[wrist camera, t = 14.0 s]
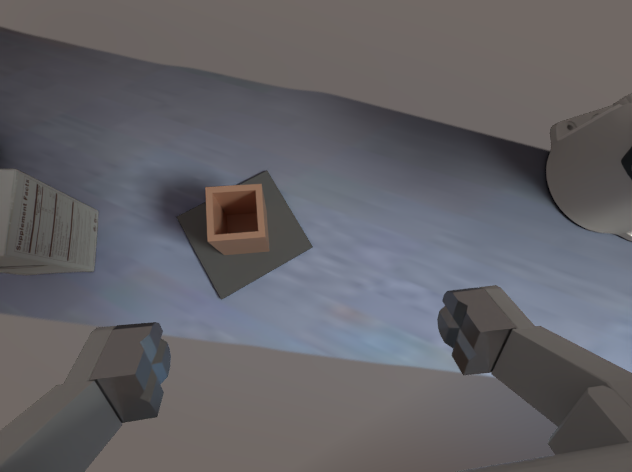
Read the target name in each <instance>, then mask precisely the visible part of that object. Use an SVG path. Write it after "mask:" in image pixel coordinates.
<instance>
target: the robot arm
mask: <svg viewBox="0 0 632 472" xmlns="http://www.w3.org/2000/svg"><path fill="white" fill-rule="evenodd" d="M550 137H551V151H550V154H549V157H548V160H547V166H546V177H547V183H548V186H549V190H550V192H551V195H552V197H553V199H554V200H555V202H556V204H557V205H558V206H559V208H560V209H561V210H562V211H563V213H564V214H565V215H566V216H568V217H569V218H570V219H571V220H572V221H574V222H575V223H577V224H578V225H580V226H582V227H584V228H586V229H588V230H591V231H595V232H600V233H611V234H617V235H619V236H621V237H623V238H625V239H627V240H629V241H632V93H631V94H629V95H627V96H625V97H624V98H622V99H620V100H619V101H618V102H616V103H614V104H613V105H612V106H608V107H605V108H602V109H599V110H596V111H593V112H589V113H586V114H583V115H580V116H577V117H574V118H571V119H567V120H564V121H561V122H559V123H557V124H555V125H553V126H552V127H551V129H550ZM442 301H443V303H444V304H445V307H444V308H442V309H441V310H440V311H439V315H438V319H437V320H438V329H439V332H440V335H441V337H442V339H443V341H444V342H445V343H446V344H447V345H449V346H450V347H452V348H453V352H452V357H453V358H454V360H455V362H456V364H457V365H458V367H459V369H460V371H461V372H462V374H463V375H471V374H481V373H490V372H492V375H493V376H495V377H496V378H497V379H498V380H500V381H501V382H502V383H504V384H505V385H506V386H507V387H509V388H510V389H511V390H512V391H514V392H515V393H516V394H517V395H519V396H520V397H521V398H522V399H524V400H525V401H526V402H527V403H529V404H530V405H531V406H532V407H534V408H535V409H536V410H537V411H539V412H540V413H541V414H542V415H544V416H545V417H546V418H548V419H549V420H550V421H551V422H553V423H554V424H555V425H556V426H558V428H557V429H556V430H555V432H554V433H553V434H552V436H551V437H550V439H549V442H548V445H549V446H550V448H551V449H552V451H553V452H554V454H555V455H551V456H545V457H539V458H533V459H527V460H521V461H516V462H510V463H504V464H498V465H492V466H487V467H480V468H475V469H468V470H463V471H457V472H632V373H631V372H629V371H627V370H625V369H623V368H621V367H619V366H617V365H615V364H613V363H611V362H609V361H607V360H605V359H603V358H601V357H599V356H598V355H596V354H594V353H592V352H590V351H588V350H586V349H584V348H582V347H580V346H578V345H576V344H574V343H572V342H570V341H568V340H566V339H565V338H563V337H561V336H559V335H557V334H555V333H553V332H551V331H549V330H547V329H545V328H543V327H541V326H534V325H533V323H532V322H531V321H530V320H529V319H528V318H527V317H526V316H525V314H524V313H523V312H522V311H521V310H520V309H519V308H518V307H517V305H516V304H515V303H514V302H513V301H512V300H511V299H510V298H509V297H508V295H507V294H506V293H505V292H504V291H503V290H502V289H501V288H500V287H498V286H496V285H495V286H486V287H479V288H469V289H460V290H452V291H447V292H446V293H445V294H444V297H443V300H442ZM162 333H163V330H162V328H161V326H160V324H159V323H157V322H153V323H141V324H129V325H117V326H109V327H98V328H96V329H95V330H94V331H92V332H91V334H90V336H89V338H88V340H87V342H86V343H85V345H84V347H83V349H82V351H81V353H80V354H79V356H78V358H77V360H76V362H75V364H74V366H73V368H72V369H71V371H70V373H69V375H68V377H67V378H66V380H65V382H64V384H62V385H56V386H55V387H54V388H53V389H51V390H50V391H49V392H48V393H46V394H45V395H44V396H43V397H41V398H40V399H39V400H38V401H36V402H35V403H34V404H33V405H32V406H30V407H29V408H28V409H27V410H25V411H24V412H23V413H22V414H20V415H19V416H18V417H17V418H15V419H14V420H13V421H12V422H11V423H9V424H8V425H7V426H5V427H4V428H3V429H2V430H1V431H0V472H85V470H86V469H87V468H88V467H89V465H90V464H91V463H92V462H93V461H94V459H95V458H96V457H97V456H98V454H99V453H100V452H101V451H102V449H103V448H104V447H105V446H106V444H107V443H108V442H109V441H110V440H111V438H112V437H113V436H114V435H115V433H116V432H117V431H118V430H119V428H120V427H121V426H122V423H125V422H131V421H136V420H143V419H148V418H155V417H157V416H158V412H159V408H160V405H161V401H162V397H163V393H164V392H163V390H162V387H161V383H162V382H163V381H164V380H165V379H166V378H167V377H168V373H169V369H170V358H171V355H170V349H169V346H168V343H167V342H166V341H164V340H163V339H161V336H162Z"/></svg>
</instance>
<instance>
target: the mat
mask: <svg viewBox="0 0 632 472" xmlns="http://www.w3.org/2000/svg"><path fill="white" fill-rule="evenodd" d="M250 184H262V189H263V194H264V199H265V204H266V210H267V224H268V237H269V250H270V251H269V252H257V253H246V254H234V255H223V254H222V253H221V252H220V251H218V250H217V249H216V248H215V247H213V246H212V245H211V244H210V243H208V240H207V215H206V202H205V203H203V204H201V205H199V206H197V207H195V208H193V209H191V210H189V211H187V212H185V213H183V214H181V215H179V216H177V219H178V221H179V222H180V224H181V226H182V228H183V230H184V232H185V233H186V235H187V237H188V239H189V241H190V243H191V245H192V246H193V248H194V250H195V252H196V254H197V256H198V257H199V259H200V261H201V263H202V265H203V267H204V268H205V270H206V272H207V274H208V276H209V278H210V280H211V281H212V283H213V285H214V287H215V289H216V291H217V292H218V294H219V296H220V298H221V299H223V298H225V297H227V296H229V295H230V294H232V293H234V292H236V291H237V290H239V289H241V288H243V287H244V286H246V285H248V284H249V283H251V282H253V281H255V280H256V279H258V278H260V277H262V276H263V275H265V274H267V273H269V272H270V271H272V270H274V269H276V268H277V267H279V266H281V265H282V264H284V263H286V262H288V261H289V260H291V259H293V258H295V257H296V256H298V255H300V254H302V253H303V252H305V251H307V250H309V249H310V248H312V245H311V243H310V241H309V240H308V238H307V236H306V235H305V233H304V231H303V230H302V228H301V226H300V225H299V223H298V221H297V220H296V218H295V216H294V215H293V213H292V211H291V210H290V208H289V206H288V205H287V203H286V201H285V200H284V198H283V196H282V195H281V193H280V191H279V190H278V188H277V186H276V185H275V183H274V181H273V180H272V178H271V176H270V174H269V173H268V171H265V172H263V173H261V174H259V175H257V176H255V177H253V178H251V179H250V180H248V181H246V182H244V183H242V184H240V185H250Z"/></svg>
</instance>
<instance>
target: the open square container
mask: <svg viewBox="0 0 632 472" xmlns="http://www.w3.org/2000/svg"><path fill="white" fill-rule="evenodd" d="M205 189H206V215H207V240H208V243H210V244H211V245H212V246H213V247H215V248H216V249H217V250H218V251H220V252H221V253H222V254H223V255H234V254H246V253H257V252H269V251H270V250H269V237H268V224H267V210H266V204H265V199H264V194H263V189H262V184H250V185H234V186H218V187H205Z"/></svg>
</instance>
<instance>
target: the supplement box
mask: <svg viewBox="0 0 632 472" xmlns="http://www.w3.org/2000/svg"><path fill="white" fill-rule="evenodd" d="M97 229H98V211H97V210H96V209H93V208H92V207H90V206H88V205H86V204H84V203H82V202H80V201H78V200H76V199H74V198H72V197H70V196H68V195H66V194H64V193H62V192H60V191H58V190H56V189H54V188H52V187H50V186H48V185H46V184H44V183H43V182H41V181H39V180H37V179H35V178H33V177H31V176H29V175H27V174H25V173H23V172H21V171H19V170H17V169H0V273H9V274H18V275H35V274H46V273H66V272H94V268H95V256H96V243H97Z"/></svg>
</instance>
